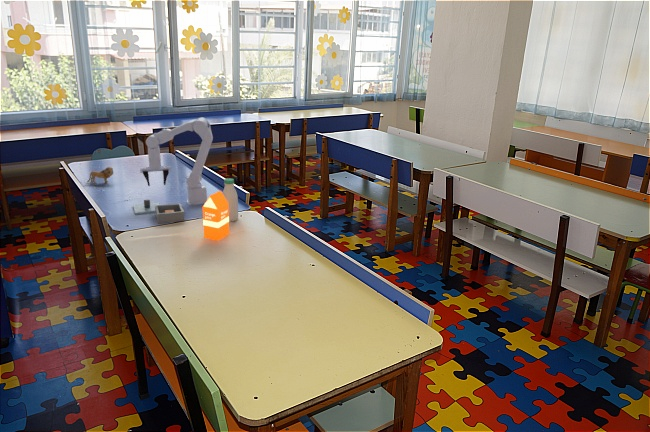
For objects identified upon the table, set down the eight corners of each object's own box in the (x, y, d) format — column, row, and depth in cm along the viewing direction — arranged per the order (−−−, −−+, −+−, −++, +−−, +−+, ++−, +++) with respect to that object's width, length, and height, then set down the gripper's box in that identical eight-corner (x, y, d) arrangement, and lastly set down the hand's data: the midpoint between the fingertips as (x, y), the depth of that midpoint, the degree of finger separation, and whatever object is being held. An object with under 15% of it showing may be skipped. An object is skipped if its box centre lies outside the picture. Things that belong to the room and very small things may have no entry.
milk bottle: (241, 219, 242) (240, 179, 235) (228, 223, 237) (227, 182, 230) (231, 215, 247) (230, 176, 240) (218, 218, 242) (217, 179, 234)
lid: (159, 205, 257) (158, 195, 255) (162, 213, 246) (161, 203, 244) (133, 207, 252) (132, 197, 250) (135, 216, 241) (134, 205, 239)
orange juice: (203, 237, 220) (201, 194, 213) (215, 230, 228) (213, 188, 221) (219, 241, 218) (217, 197, 210) (229, 233, 225) (228, 191, 218)
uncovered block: (173, 215, 242) (173, 209, 241) (174, 218, 238) (174, 212, 237) (165, 216, 240) (164, 210, 239) (166, 219, 237) (165, 213, 236)
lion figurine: (115, 180, 290) (113, 165, 287) (113, 183, 286) (112, 168, 282) (87, 181, 287) (85, 166, 284) (85, 184, 282) (83, 169, 279)
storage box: (181, 212, 247) (180, 203, 245) (184, 221, 237) (184, 211, 235) (155, 215, 242) (154, 205, 241) (158, 224, 232) (157, 214, 230)
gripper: (139, 162, 245) (142, 188, 250) (170, 160, 251) (172, 186, 256) (138, 158, 251) (141, 184, 256) (168, 156, 257) (170, 182, 262)
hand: (156, 184), depth 256 cm, fingers open, 7 cm apart
